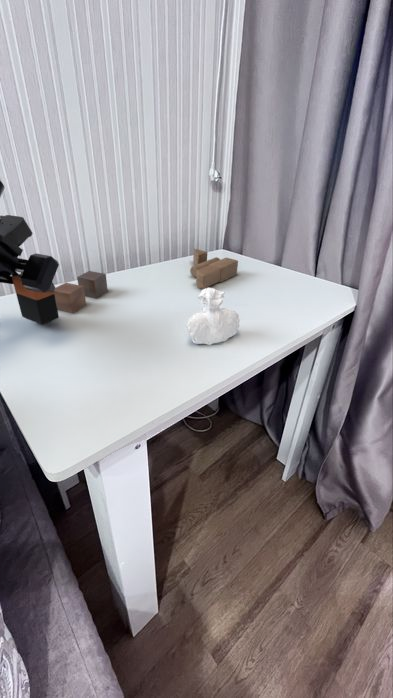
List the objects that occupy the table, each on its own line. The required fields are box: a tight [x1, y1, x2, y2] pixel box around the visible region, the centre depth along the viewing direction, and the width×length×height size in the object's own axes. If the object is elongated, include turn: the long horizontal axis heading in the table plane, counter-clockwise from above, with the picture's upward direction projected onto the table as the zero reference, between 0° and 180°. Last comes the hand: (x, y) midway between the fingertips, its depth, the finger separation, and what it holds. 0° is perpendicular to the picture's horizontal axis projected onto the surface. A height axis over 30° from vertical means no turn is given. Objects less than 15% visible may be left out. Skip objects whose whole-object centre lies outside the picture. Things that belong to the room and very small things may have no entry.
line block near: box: [54, 282, 87, 315], centre depth 77 cm, size 5×5×5 cm
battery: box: [12, 272, 60, 326], centre depth 67 cm, size 4×7×10 cm, turn 60°
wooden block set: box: [189, 248, 239, 290], centre depth 99 cm, size 17×6×18 cm
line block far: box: [76, 270, 109, 300], centre depth 84 cm, size 5×5×5 cm
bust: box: [185, 287, 241, 346], centre depth 68 cm, size 12×8×11 cm
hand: (39, 286), depth 68 cm, fingers closed on battery, 7 cm apart
